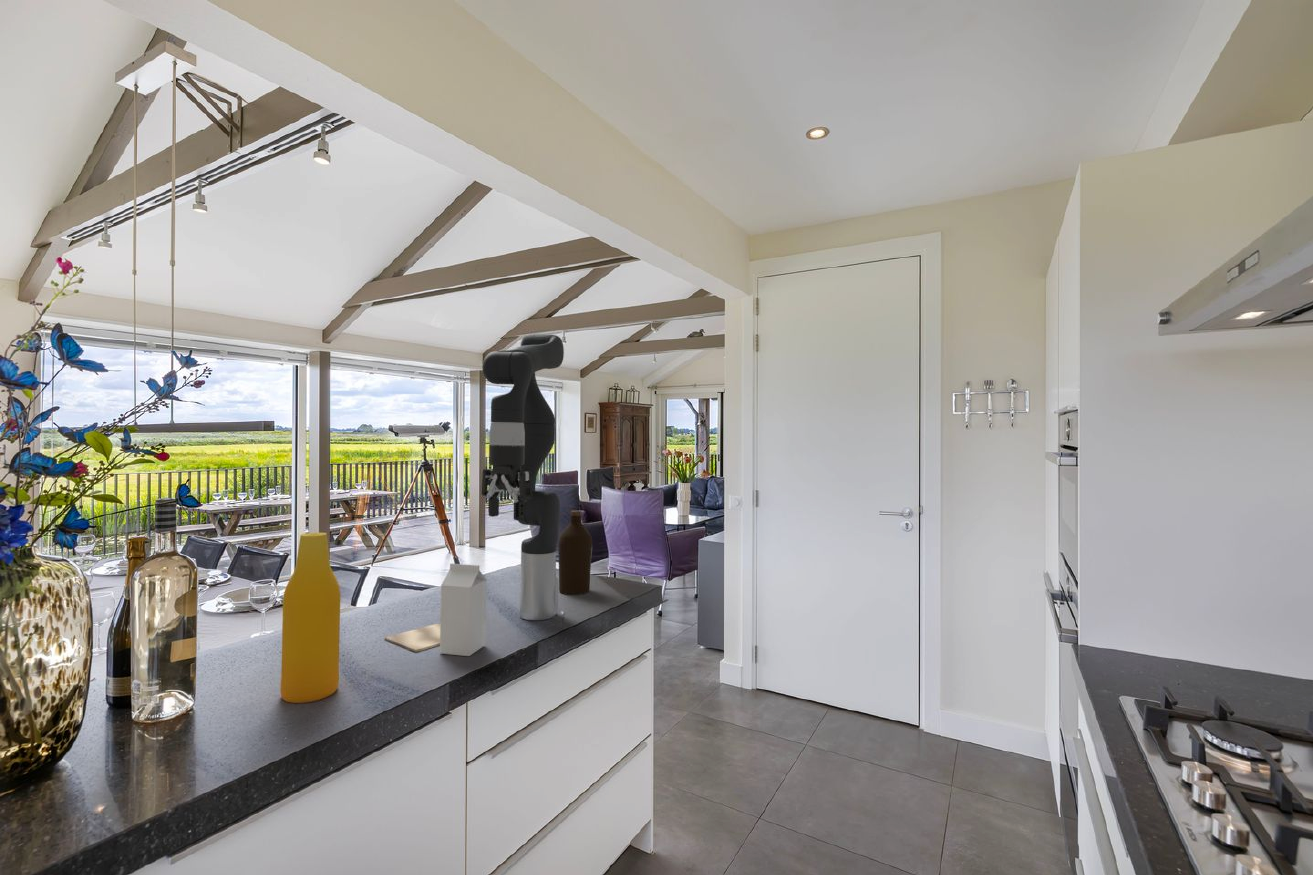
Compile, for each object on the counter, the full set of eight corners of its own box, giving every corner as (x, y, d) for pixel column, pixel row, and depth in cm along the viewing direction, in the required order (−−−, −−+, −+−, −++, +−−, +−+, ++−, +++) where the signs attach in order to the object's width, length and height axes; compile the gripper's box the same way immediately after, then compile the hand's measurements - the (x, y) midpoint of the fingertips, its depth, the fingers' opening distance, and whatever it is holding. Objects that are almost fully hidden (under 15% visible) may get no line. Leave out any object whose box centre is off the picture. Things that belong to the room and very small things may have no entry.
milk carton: (469, 657, 128) (471, 568, 128) (439, 654, 129) (441, 566, 129) (485, 646, 135) (487, 562, 135) (456, 643, 136) (458, 560, 136)
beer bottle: (267, 701, 105) (271, 537, 105) (306, 680, 114) (310, 529, 114) (313, 706, 103) (317, 539, 103) (349, 685, 112) (353, 531, 112)
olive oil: (566, 597, 178) (567, 513, 178) (551, 589, 187) (553, 510, 187) (597, 592, 184) (599, 511, 184) (581, 585, 193) (583, 508, 193)
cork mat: (441, 624, 150) (442, 622, 150) (473, 635, 142) (473, 633, 142) (384, 639, 138) (384, 637, 138) (415, 652, 130) (415, 650, 130)
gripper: (542, 444, 128) (541, 519, 128) (500, 443, 137) (499, 513, 137) (514, 444, 122) (513, 523, 122) (472, 442, 131) (471, 516, 131)
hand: (505, 517), depth 129 cm, fingers open, 8 cm apart
